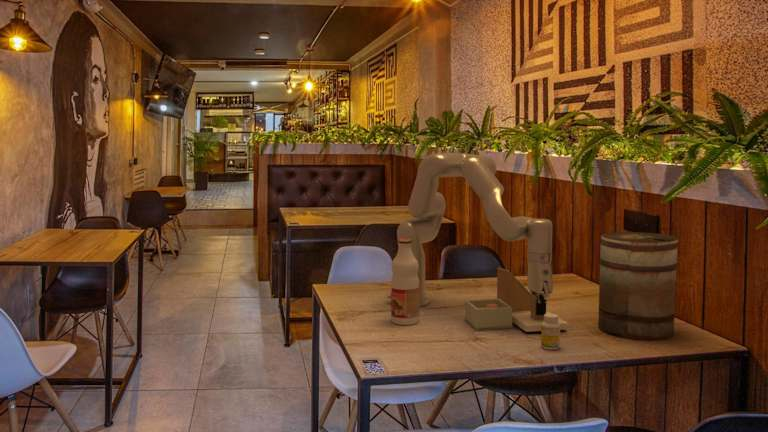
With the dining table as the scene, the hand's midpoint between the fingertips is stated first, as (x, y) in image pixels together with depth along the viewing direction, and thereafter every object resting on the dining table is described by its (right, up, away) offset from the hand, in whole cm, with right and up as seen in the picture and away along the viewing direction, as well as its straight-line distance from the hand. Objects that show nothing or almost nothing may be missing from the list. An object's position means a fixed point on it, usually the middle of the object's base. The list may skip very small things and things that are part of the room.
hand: (538, 312), depth 208 cm
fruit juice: (-43, -4, +8) cm, 44 cm away
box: (-16, -5, +4) cm, 17 cm away
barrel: (+30, -5, -3) cm, 31 cm away
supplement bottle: (-1, -7, -20) cm, 21 cm away
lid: (0, -4, 0) cm, 4 cm away
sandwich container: (0, -2, +25) cm, 25 cm away
